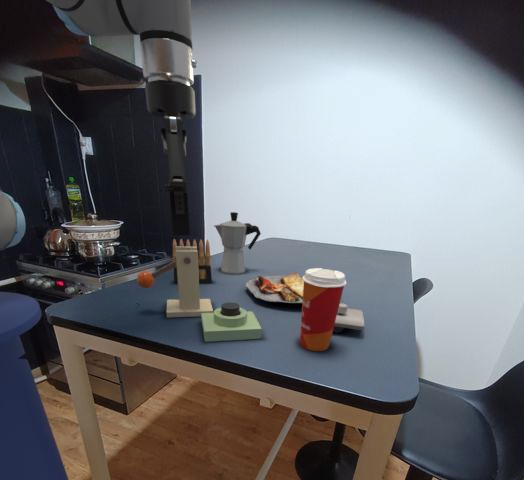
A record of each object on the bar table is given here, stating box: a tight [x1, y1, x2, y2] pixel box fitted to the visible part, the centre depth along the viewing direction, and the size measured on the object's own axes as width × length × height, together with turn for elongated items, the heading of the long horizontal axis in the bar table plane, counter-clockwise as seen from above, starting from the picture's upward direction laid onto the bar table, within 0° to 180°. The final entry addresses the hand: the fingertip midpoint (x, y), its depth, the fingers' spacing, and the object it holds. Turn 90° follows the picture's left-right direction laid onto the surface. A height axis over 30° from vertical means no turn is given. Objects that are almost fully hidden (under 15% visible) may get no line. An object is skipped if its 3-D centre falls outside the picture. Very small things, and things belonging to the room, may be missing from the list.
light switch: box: [333, 302, 366, 333], centre depth 69 cm, size 10×10×5 cm
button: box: [220, 302, 241, 317], centre depth 63 cm, size 4×4×2 cm
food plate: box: [244, 272, 304, 305], centre depth 86 cm, size 25×23×4 cm
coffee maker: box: [213, 211, 262, 275], centre depth 102 cm, size 15×9×18 cm, turn 95°
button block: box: [200, 307, 263, 343], centre depth 64 cm, size 11×9×4 cm
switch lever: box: [136, 248, 190, 289], centre depth 68 cm, size 13×4×4 cm, turn 103°
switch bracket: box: [166, 245, 214, 318], centre depth 70 cm, size 10×8×14 cm
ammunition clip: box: [172, 238, 213, 285], centre depth 89 cm, size 11×2×12 cm, turn 104°
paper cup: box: [299, 267, 347, 352], centre depth 58 cm, size 8×8×14 cm
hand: (180, 229), depth 59 cm, fingers open, 13 cm apart
